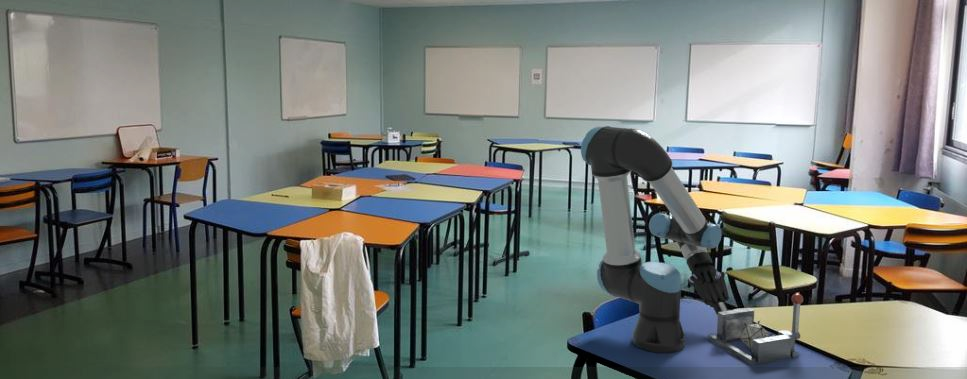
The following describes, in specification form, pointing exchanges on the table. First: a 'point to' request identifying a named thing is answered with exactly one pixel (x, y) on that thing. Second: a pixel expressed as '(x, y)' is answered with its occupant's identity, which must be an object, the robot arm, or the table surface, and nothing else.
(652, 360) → the table surface
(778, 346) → the vise body
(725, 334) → the jaw
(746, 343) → the game die
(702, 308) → the table surface
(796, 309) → the lever
